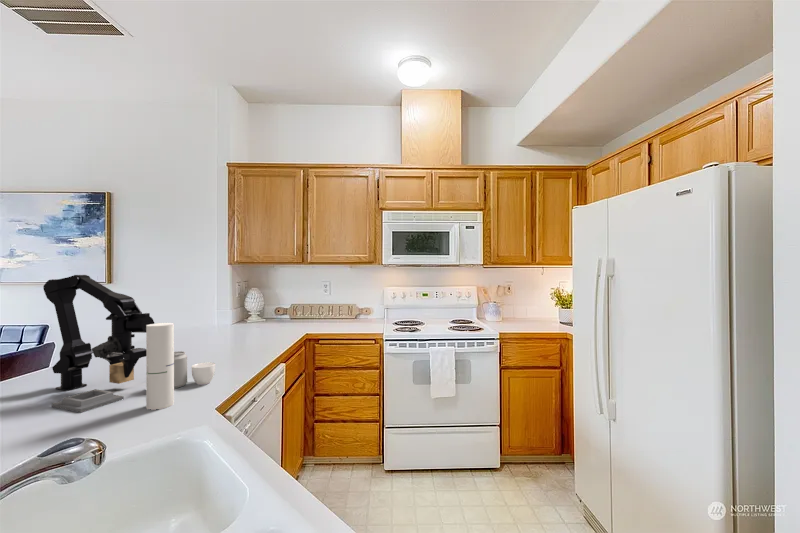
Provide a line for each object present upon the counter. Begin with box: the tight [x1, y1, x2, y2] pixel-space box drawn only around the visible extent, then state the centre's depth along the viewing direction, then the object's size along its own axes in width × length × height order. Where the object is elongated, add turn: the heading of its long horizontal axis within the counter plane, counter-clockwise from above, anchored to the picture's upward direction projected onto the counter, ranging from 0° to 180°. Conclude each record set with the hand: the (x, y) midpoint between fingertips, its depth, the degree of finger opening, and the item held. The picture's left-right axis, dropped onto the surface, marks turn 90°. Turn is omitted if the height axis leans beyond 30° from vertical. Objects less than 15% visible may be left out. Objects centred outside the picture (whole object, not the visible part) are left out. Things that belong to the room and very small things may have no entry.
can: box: [174, 350, 188, 389], centre depth 135 cm, size 8×8×12 cm
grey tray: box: [51, 389, 124, 414], centre depth 118 cm, size 14×12×2 cm
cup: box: [191, 361, 216, 386], centre depth 138 cm, size 8×10×7 cm
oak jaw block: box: [108, 362, 135, 384], centre depth 132 cm, size 5×5×6 cm
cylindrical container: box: [145, 322, 175, 411], centre depth 115 cm, size 7×7×25 cm
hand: (121, 376), depth 132 cm, fingers closed on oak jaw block, 5 cm apart
